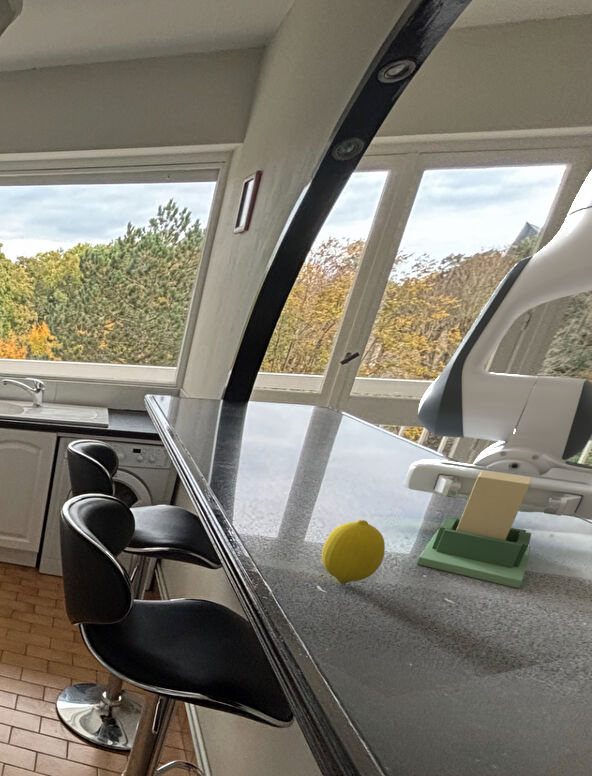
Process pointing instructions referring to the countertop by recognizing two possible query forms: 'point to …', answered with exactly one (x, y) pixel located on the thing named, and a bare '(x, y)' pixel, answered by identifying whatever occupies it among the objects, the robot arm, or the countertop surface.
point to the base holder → (478, 554)
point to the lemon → (353, 551)
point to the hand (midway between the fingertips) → (500, 499)
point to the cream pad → (493, 504)
